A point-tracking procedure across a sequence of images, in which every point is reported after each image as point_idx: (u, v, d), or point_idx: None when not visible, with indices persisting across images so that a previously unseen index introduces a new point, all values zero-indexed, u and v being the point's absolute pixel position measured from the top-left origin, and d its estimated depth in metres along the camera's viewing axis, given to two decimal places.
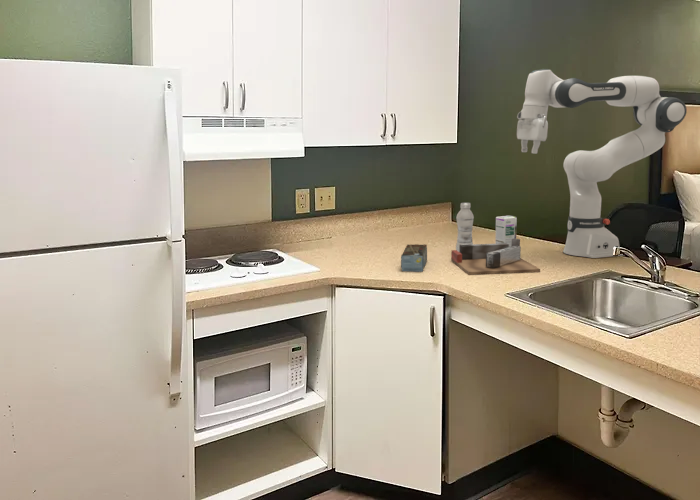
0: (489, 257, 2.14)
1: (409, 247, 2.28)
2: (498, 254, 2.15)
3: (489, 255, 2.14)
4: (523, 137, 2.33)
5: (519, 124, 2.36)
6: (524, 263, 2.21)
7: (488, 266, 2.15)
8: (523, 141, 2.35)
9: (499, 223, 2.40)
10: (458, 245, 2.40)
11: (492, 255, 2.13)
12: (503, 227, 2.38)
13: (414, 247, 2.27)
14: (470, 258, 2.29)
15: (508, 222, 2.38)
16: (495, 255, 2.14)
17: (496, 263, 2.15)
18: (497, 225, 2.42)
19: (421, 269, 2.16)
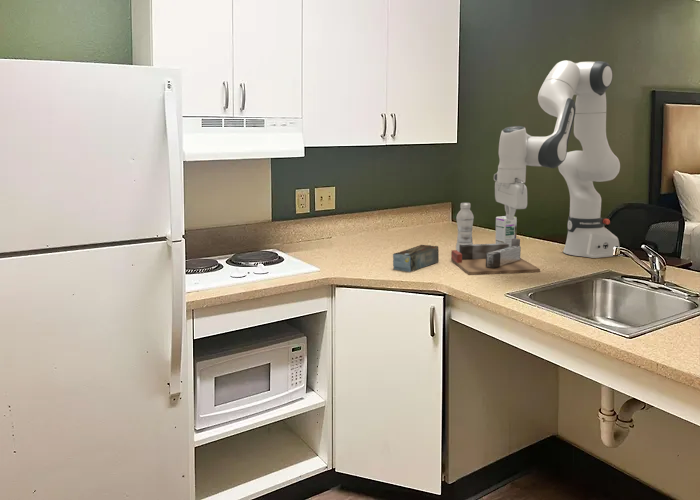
0: (489, 257, 2.14)
1: (416, 247, 2.28)
2: (498, 254, 2.15)
3: (489, 255, 2.14)
4: (502, 202, 2.08)
5: (496, 186, 2.11)
6: (524, 263, 2.21)
7: (488, 266, 2.15)
8: (507, 206, 2.06)
9: (499, 223, 2.40)
10: (458, 245, 2.40)
11: (492, 255, 2.13)
12: (503, 227, 2.38)
13: (420, 247, 2.27)
14: (470, 258, 2.29)
15: (508, 222, 2.38)
16: (495, 255, 2.14)
17: (496, 263, 2.15)
18: (497, 225, 2.42)
19: (409, 269, 2.16)
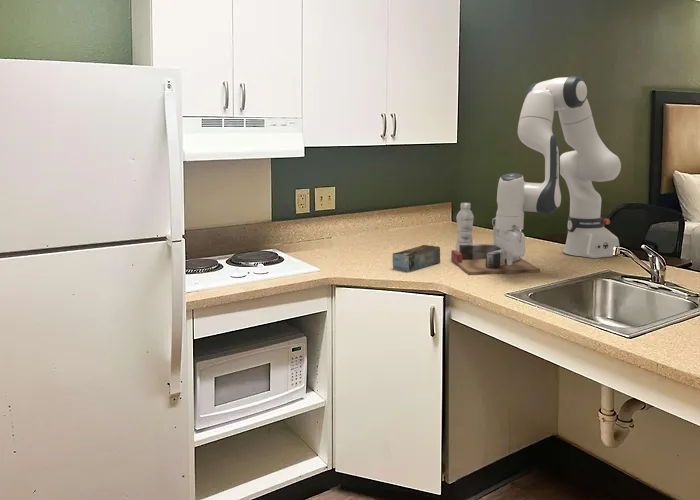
0: (489, 257, 2.14)
1: (418, 247, 2.28)
2: (498, 254, 2.15)
3: (489, 255, 2.14)
4: (500, 246, 2.11)
5: (495, 230, 2.15)
6: (524, 263, 2.21)
7: (488, 266, 2.15)
8: (505, 252, 2.10)
9: None
10: (458, 245, 2.40)
11: (492, 255, 2.13)
12: None
13: (421, 248, 2.26)
14: (470, 258, 2.29)
15: None
16: (495, 255, 2.14)
17: (496, 263, 2.15)
18: None
19: (408, 269, 2.16)
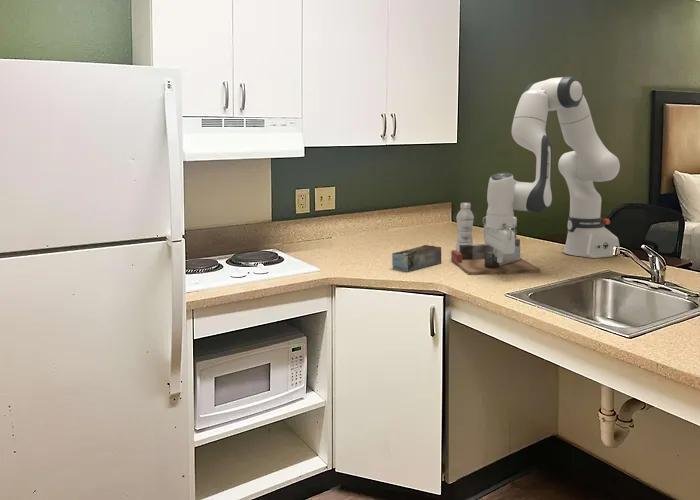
0: (488, 257, 2.15)
1: (419, 247, 2.28)
2: None
3: (488, 255, 2.15)
4: (490, 245, 2.14)
5: (485, 229, 2.18)
6: (524, 263, 2.21)
7: (487, 266, 2.15)
8: (495, 250, 2.13)
9: None
10: (458, 245, 2.40)
11: (491, 255, 2.14)
12: None
13: (422, 248, 2.26)
14: (470, 258, 2.29)
15: None
16: (494, 255, 2.14)
17: (495, 263, 2.15)
18: None
19: (407, 269, 2.16)
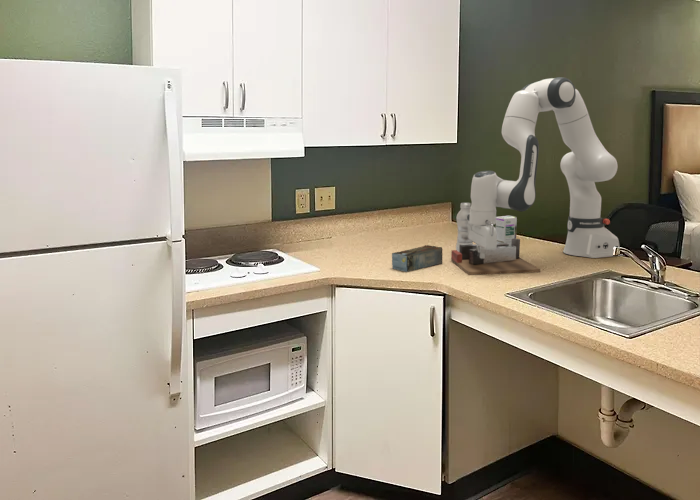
0: (471, 253, 2.21)
1: (420, 247, 2.27)
2: None
3: (471, 251, 2.21)
4: (474, 241, 2.20)
5: (469, 225, 2.24)
6: (524, 263, 2.21)
7: (470, 262, 2.21)
8: (478, 246, 2.19)
9: (499, 223, 2.40)
10: (458, 245, 2.40)
11: (473, 251, 2.19)
12: (503, 227, 2.38)
13: (422, 248, 2.26)
14: None
15: (508, 222, 2.38)
16: (476, 252, 2.19)
17: (478, 260, 2.20)
18: (497, 225, 2.41)
19: (405, 269, 2.16)
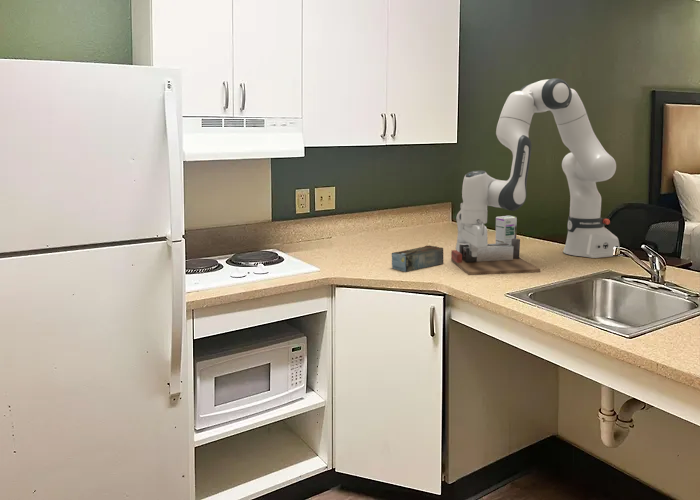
0: (464, 251, 2.25)
1: (421, 247, 2.27)
2: None
3: (464, 249, 2.25)
4: (466, 239, 2.24)
5: (461, 224, 2.27)
6: (524, 263, 2.21)
7: (464, 259, 2.26)
8: (470, 244, 2.22)
9: (499, 223, 2.40)
10: (458, 245, 2.40)
11: (465, 249, 2.23)
12: (503, 227, 2.38)
13: (423, 248, 2.25)
14: None
15: (508, 222, 2.38)
16: (468, 250, 2.23)
17: (471, 258, 2.24)
18: (497, 225, 2.42)
19: (404, 269, 2.16)
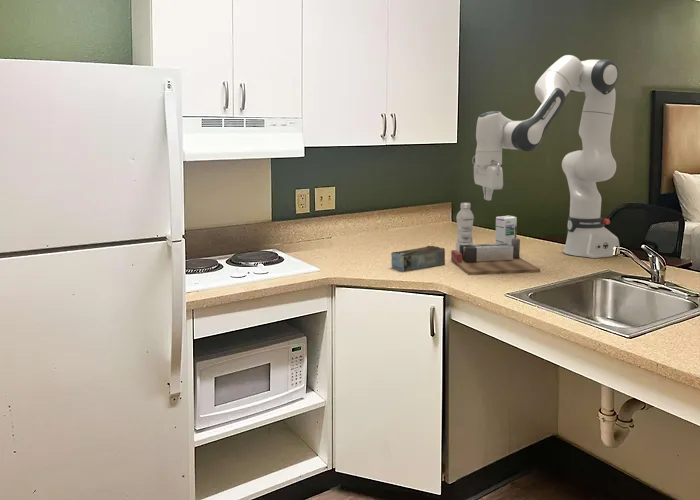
0: (464, 251, 2.25)
1: (422, 248, 2.27)
2: (473, 249, 2.24)
3: (464, 249, 2.25)
4: (480, 183, 2.18)
5: (475, 169, 2.22)
6: (524, 263, 2.21)
7: (464, 259, 2.26)
8: (485, 188, 2.17)
9: (499, 223, 2.40)
10: (458, 245, 2.40)
11: (465, 249, 2.24)
12: (503, 227, 2.38)
13: (424, 248, 2.25)
14: None
15: (508, 222, 2.38)
16: (468, 249, 2.23)
17: (471, 258, 2.24)
18: (497, 225, 2.42)
19: (403, 269, 2.16)
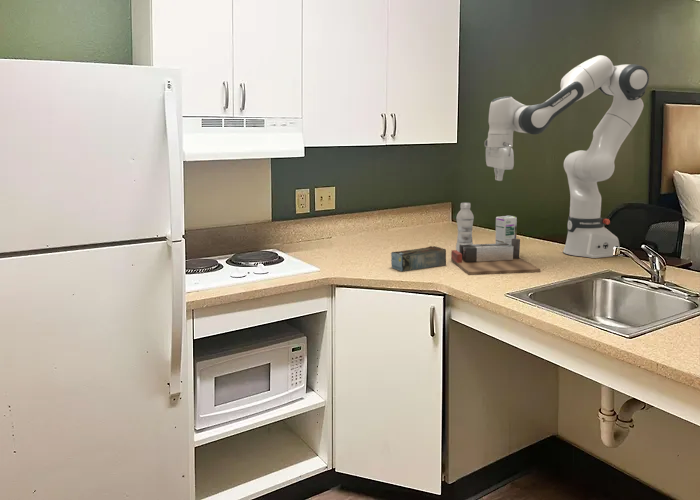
0: (464, 251, 2.25)
1: (424, 248, 2.26)
2: (473, 249, 2.24)
3: (464, 249, 2.25)
4: (492, 165, 2.31)
5: (487, 151, 2.35)
6: (524, 263, 2.21)
7: (464, 259, 2.26)
8: (496, 169, 2.30)
9: (499, 223, 2.40)
10: (458, 245, 2.40)
11: (465, 249, 2.24)
12: (503, 227, 2.38)
13: (425, 249, 2.24)
14: None
15: (508, 222, 2.38)
16: (468, 249, 2.23)
17: (471, 258, 2.24)
18: (497, 225, 2.42)
19: (401, 269, 2.17)
